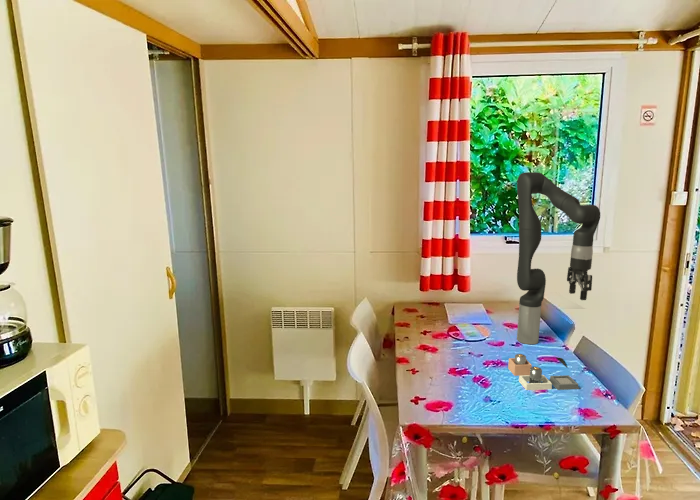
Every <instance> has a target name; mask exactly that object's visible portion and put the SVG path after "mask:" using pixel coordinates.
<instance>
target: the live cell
mask: <svg viewBox="0 0 700 500" xmlns="http://www.w3.org/2000/svg"><path fill="white" fill-rule="evenodd" d="M542 373H543V369H542V368H541V367H538V366H532V367H531V368H530V379H529V382H528V383H542V381H541V377H542V375H543V374H542Z"/></svg>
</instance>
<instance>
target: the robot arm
mask: <svg viewBox="0 0 700 500" xmlns="http://www.w3.org/2000/svg"><path fill="white" fill-rule="evenodd" d="M516 191H517V199H518V200H517V201H518V260H517V273H516V283H517V286H518V288H519V289H520V290H521V291H527V292H526V293H524V294H523V295H521V296H520V297H519V301H518V302H519V305H518V319H517V331H516V335H517V336H516V340H517V342H519V343H521V344H524V345H525V344H526V345H536V344H538V343H539V339H540V338H539V337H540V328H541V327H540V326H541V316H542V302H543V301H544V298H545V291H546V283H547V282H546V281H547V280H546V274H545V272H544V270H543V269H541V268H532V261H533V257H534V254H535V253H536V251H537V250H538V248H539V245H540V243H541V241H542V222H541V220H540V218H539V216H538V214H537V213H536V212H537V211H536V210H535V208H534V206H533V197H532V196H533V194H540V195H543V196H545V197H547V198H548V199H549V201H550V204H552V205H553V207H555V208H556V209H558V210H559V211H562V212H564V214H565V215H566V216H567V217H568V218H569V219H570V221H572V222H573V223H576V224H579V225H581V224H582V225H581V227H580V228H577V229H576V230H574V232H573V234H572V235H573V236H572V237H573V239H572V246H571V250H570V258H569V259H570V260H569V266H568V269H567V273H566V274H567V275H566V281H567V282H568V284H569V290H568V294H570V295H571V294H576V290H577V289H576V287H577V283H578V286H580V296H579V299H580V300H581V301H587V299H588V297H587V296H588V292H589V291H590V292H591V291H592V286H593V285H592V284H593V274H589V273H588V271H590V270H592V264H593V263H592V262H593V252H594V251H593V246H594V245H593V244H594V237H595V233H596V231H597V228H598V226H599V223H600V219H601V210H600V208H599V207H598V206H597V205H596V204H581V202H580V200H579V199H578V198H577V197H575V196H574V195H572V194H570V193H569V192H566V191H565V190H563V189H562V188H560V187H559V186H557V185H556V184H555V183H554V182H552V181H551V179H549V178H548V177H547V176H546V175H545V174H543V173H541V172H539V171H538V172H534V171H533V172H526V171H525V172H522V173H520V174H519V176H518V178H517V181H516Z"/></svg>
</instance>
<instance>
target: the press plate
mask: <svg viewBox="0 0 700 500" xmlns="http://www.w3.org/2000/svg"><path fill="white" fill-rule="evenodd" d="M555 379H556V380H557V381H558V382H559V383H560V384H572V382H571V381H570V380H569V379H568V378H555Z"/></svg>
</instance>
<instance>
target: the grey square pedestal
mask: <svg viewBox="0 0 700 500" xmlns="http://www.w3.org/2000/svg"><path fill="white" fill-rule="evenodd" d="M555 378H568V379H569V380H570V381H571V382H572V384H560V383H559V382H558V381H557V380H556V379H555ZM548 380H549V381H550V382H551V383H552V386H553V387H554V388H555V389H556V390H557V391H563V390H565V391H566V390H568V391H569V390H572V391H573V390H580V387H579V383H577V381H575V379H573V378H572V377H571V376H570V375H567V374H566V375H550V376H549V379H548Z"/></svg>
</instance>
